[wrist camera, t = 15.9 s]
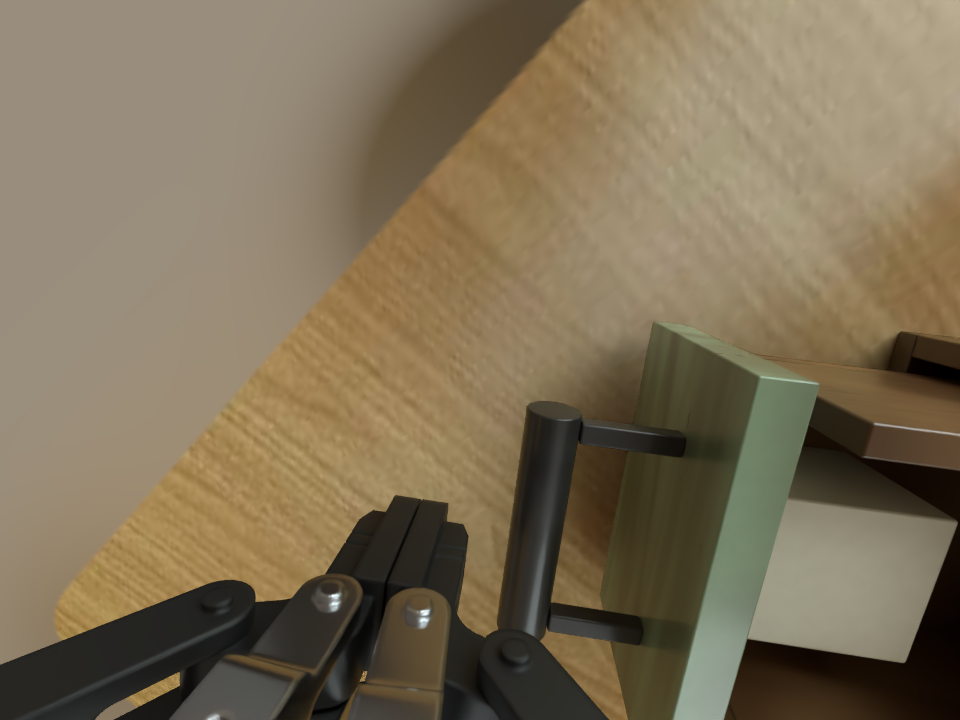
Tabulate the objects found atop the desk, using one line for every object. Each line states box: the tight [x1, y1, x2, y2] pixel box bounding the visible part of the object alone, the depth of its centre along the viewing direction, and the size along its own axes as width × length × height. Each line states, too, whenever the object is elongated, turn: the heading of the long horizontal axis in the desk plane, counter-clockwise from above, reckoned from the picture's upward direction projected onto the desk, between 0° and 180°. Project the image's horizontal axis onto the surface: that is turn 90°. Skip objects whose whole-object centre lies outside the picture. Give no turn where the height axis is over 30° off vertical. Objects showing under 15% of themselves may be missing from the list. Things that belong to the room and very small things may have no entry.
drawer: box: [497, 321, 960, 720], centre depth 14 cm, size 18×11×8 cm, turn 84°
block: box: [747, 446, 958, 663], centre depth 15 cm, size 4×4×4 cm
